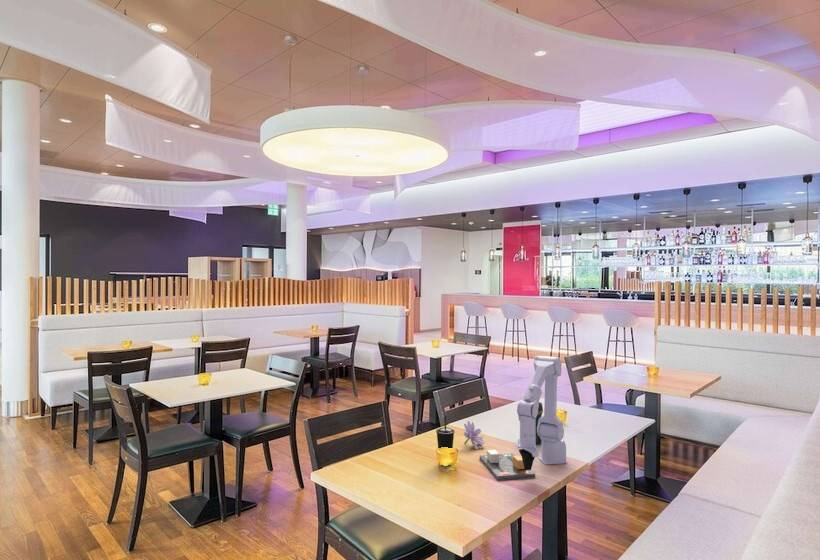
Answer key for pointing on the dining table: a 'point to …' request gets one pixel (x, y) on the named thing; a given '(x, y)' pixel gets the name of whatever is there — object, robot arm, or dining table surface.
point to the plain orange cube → (518, 462)
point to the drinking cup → (445, 436)
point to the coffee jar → (539, 415)
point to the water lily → (473, 434)
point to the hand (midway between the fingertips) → (527, 469)
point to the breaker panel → (506, 468)
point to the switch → (493, 456)
